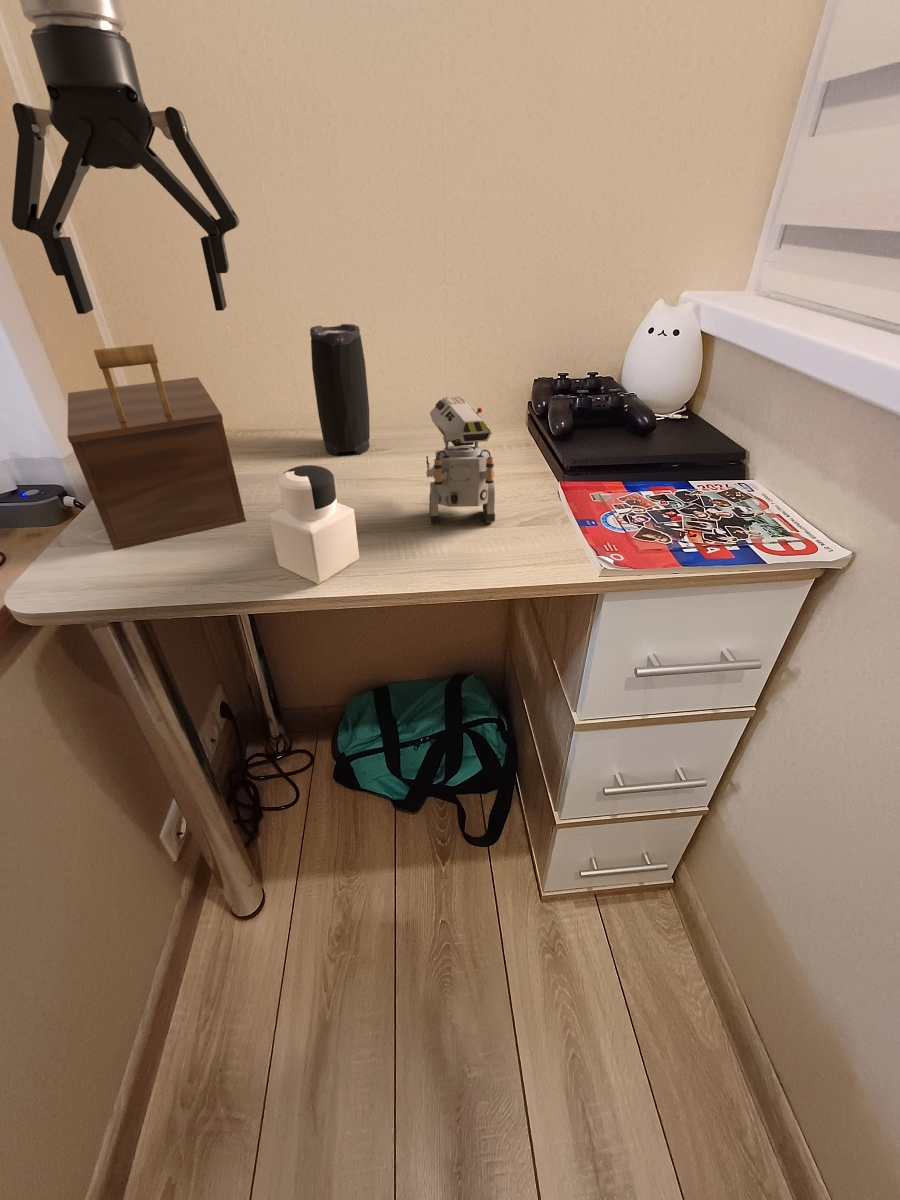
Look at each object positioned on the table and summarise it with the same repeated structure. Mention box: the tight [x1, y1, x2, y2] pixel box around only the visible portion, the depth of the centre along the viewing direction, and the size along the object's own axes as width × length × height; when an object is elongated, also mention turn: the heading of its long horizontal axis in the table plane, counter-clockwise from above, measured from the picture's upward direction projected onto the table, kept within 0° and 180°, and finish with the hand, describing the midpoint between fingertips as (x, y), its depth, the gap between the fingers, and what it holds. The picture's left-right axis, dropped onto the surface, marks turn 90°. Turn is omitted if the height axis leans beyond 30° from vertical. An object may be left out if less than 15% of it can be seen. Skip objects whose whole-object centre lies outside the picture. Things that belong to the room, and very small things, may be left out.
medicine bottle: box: [268, 464, 360, 585], centre depth 67 cm, size 7×7×12 cm
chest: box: [70, 420, 247, 551], centre depth 78 cm, size 18×17×14 cm
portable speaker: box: [309, 323, 371, 456], centre depth 95 cm, size 9×9×20 cm
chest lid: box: [66, 343, 224, 444], centre depth 71 cm, size 18×17×9 cm
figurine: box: [425, 396, 496, 525], centre depth 77 cm, size 9×12×15 cm
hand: (154, 310), depth 61 cm, fingers open, 13 cm apart
